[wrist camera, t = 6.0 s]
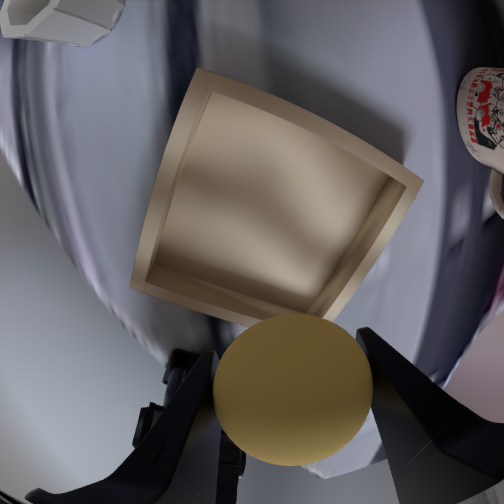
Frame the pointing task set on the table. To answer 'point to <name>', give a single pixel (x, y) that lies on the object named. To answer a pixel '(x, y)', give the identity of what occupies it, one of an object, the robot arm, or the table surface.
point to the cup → (60, 20)
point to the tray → (265, 208)
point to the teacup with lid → (484, 123)
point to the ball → (293, 389)
